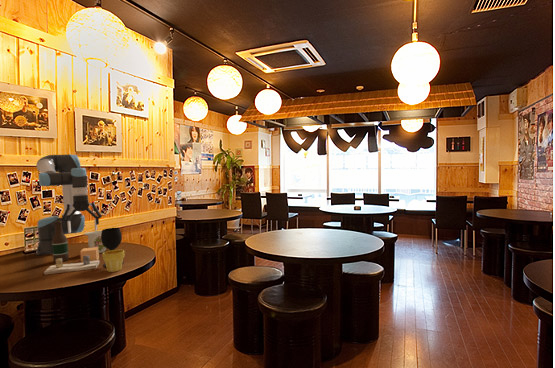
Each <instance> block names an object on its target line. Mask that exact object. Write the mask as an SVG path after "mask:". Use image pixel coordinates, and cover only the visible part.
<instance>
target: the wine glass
mask: <svg viewBox="0 0 555 368" xmlns="http://www.w3.org/2000/svg"><path fill="white" fill-rule="evenodd" d="M101 231H102V233H101V241H102V244H103V245H104V246H105V247H106V250H108V251H111V250H117V248H118V247H119V246H120V245H121V243H122V239H123V235H122V231H121V228H120V227H110V228H104V229H101ZM123 264H124V261H123V262H122V265H123ZM102 267H104V268H107V267H106V264H105V263H104V264H103V265H102Z"/></svg>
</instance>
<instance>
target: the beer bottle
mask: <svg viewBox="0 0 555 368" xmlns="http://www.w3.org/2000/svg"><path fill="white" fill-rule="evenodd" d="M68 242H69V241H68V238H67V236H66V234H63V230H62V221H55V235H54V237H53V239H52V251H53V254H52V261H53V262H54V263H56V259H59V258H62V263H63V261H64V262H67V261H69V258H70V257H69V245H68V244H69V243H68Z"/></svg>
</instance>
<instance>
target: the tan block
mask: <svg viewBox="0 0 555 368" xmlns="http://www.w3.org/2000/svg"><path fill="white" fill-rule="evenodd" d="M79 253H80V262H83V256H86V255H89V259H90V261H96V260H100V253H99V250H98V247H92V248H89V247H87V248H86V247H84V248H82V249H81V250H80V251H79Z"/></svg>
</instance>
